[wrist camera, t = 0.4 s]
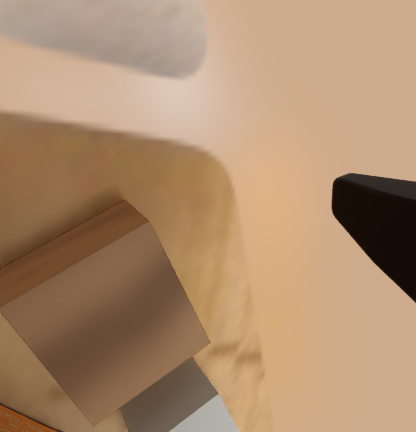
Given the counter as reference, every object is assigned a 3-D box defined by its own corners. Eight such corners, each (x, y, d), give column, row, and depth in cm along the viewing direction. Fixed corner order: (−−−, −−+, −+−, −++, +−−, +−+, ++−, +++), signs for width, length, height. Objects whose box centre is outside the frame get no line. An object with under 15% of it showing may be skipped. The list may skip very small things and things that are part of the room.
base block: (181, 308, 25) (210, 342, 21) (79, 376, 23) (93, 426, 19) (125, 200, 21) (149, 221, 18) (-3, 270, 19) (-3, 309, 16)
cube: (208, 391, 28) (246, 445, 24) (147, 438, 26) (175, 504, 22) (182, 343, 26) (218, 393, 21) (113, 391, 24) (138, 455, 20)
